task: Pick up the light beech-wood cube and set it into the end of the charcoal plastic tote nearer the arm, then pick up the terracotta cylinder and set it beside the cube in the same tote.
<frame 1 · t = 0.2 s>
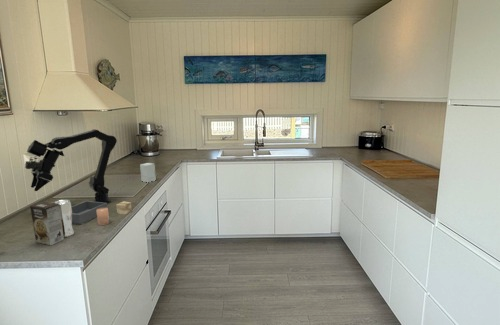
hand: (33, 189, 156), 15 cm above the worktop, tool tilted 30°, fingers open, 9 cm apart
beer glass: (66, 234, 139), on the worktop
beech cube: (124, 212, 165), on the worktop
coffee box: (50, 241, 133), on the worktop
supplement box: (148, 181, 226), on the worktop
tote: (84, 216, 160), on the worktop
terracotta cylinder: (103, 223, 151), on the worktop
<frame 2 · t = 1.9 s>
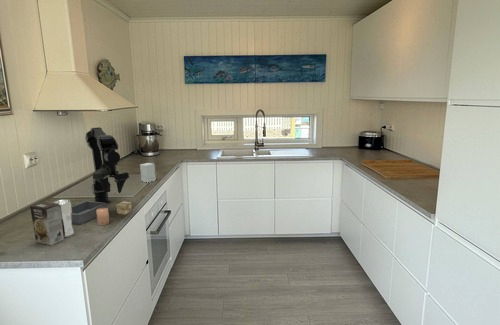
hand: (112, 192, 158), 12 cm above the worktop, tool pointing down, fingers open, 9 cm apart
nothing on the worktop moved.
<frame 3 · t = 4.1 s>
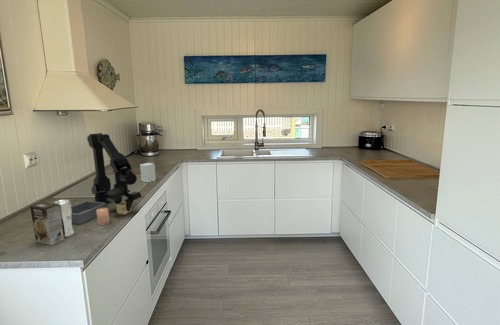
hand: (124, 210, 165), 1 cm above the worktop, tool pointing down, fingers closed on beech cube, 5 cm apart
beech cube: (124, 212, 165), on the worktop, touching gripper
everything else where it was.
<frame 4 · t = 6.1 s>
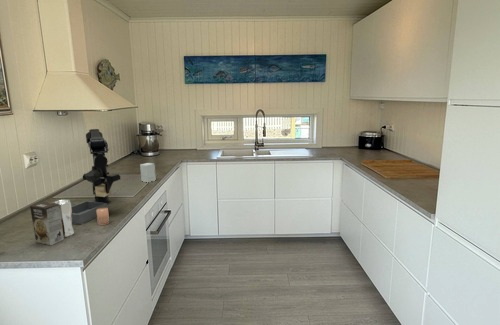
hand: (103, 193, 162), 11 cm above the worktop, tool pointing down, fingers closed on beech cube, 5 cm apart
beech cube: (103, 195, 162), point 10 cm above the worktop, touching gripper
everything else where it was.
when the fingers open (4 cm above the worktop, at t = 8.2 s): beech cube drops 3 cm, resting on tote.
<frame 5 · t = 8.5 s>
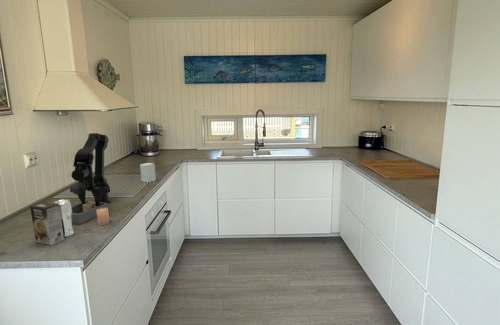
hand: (90, 205, 163), 4 cm above the worktop, tool pointing down, fingers open, 9 cm apart
beech cube: (91, 212, 164), point 1 cm above the worktop, touching tote
everything else where it was.
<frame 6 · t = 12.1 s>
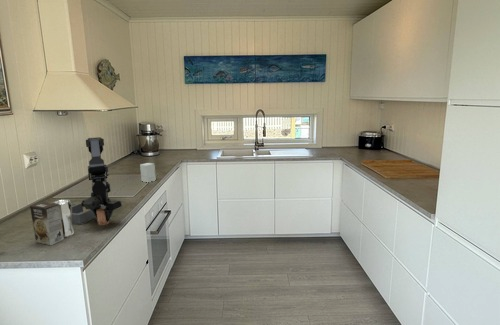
hand: (103, 220, 150), 1 cm above the worktop, tool pointing down, fingers closed on terracotta cylinder, 5 cm apart
terracotta cylinder: (103, 223, 151), on the worktop, touching gripper
everything else where it was.
when the fingers open (5 cm above the worktop, at t = 16.2 s): terracotta cylinder drops 3 cm, resting on tote.
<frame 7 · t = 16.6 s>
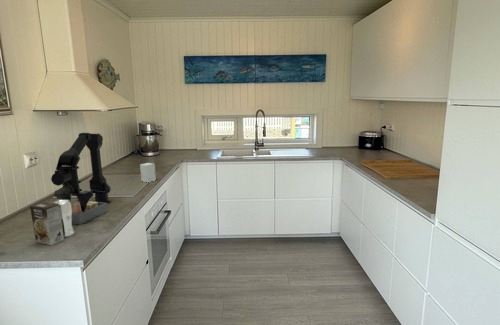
hand: (75, 210, 154), 5 cm above the worktop, tool pointing down, fingers open, 9 cm apart
terracotta cylinder: (76, 218, 155), point 1 cm above the worktop, touching tote
everything else where it was.
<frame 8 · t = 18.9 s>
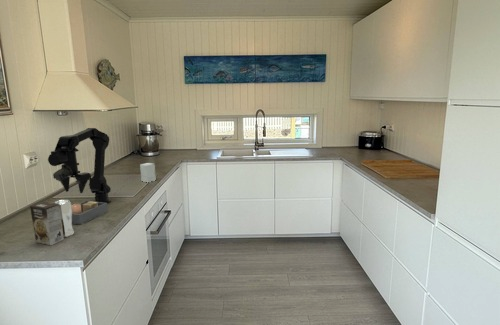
hand: (74, 192, 158), 12 cm above the worktop, tool pointing down, fingers open, 9 cm apart
nothing on the worktop moved.
at the end: beech cube inside the target area on the tote (4.5 cm from its centre), point 0.6 cm above the tote's base; terracotta cylinder inside the target area on the tote (4.5 cm from its centre), point 0.6 cm above the tote's base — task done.
